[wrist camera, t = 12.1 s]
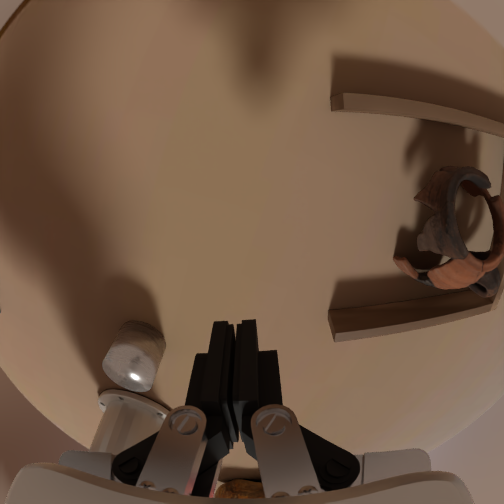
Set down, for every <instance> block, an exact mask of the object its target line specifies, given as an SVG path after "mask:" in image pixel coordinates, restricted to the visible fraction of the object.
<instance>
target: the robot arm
mask: <svg viewBox="0 0 504 504" xmlns="http://www.w3.org/2000/svg"><path fill="white" fill-rule="evenodd" d="M98 404H99V407H100V408H101V410H102V411H103V413H104V414H103V416H102V419H101V421H100V424H99V426H98V429H97V431H96V434H95V437H94V439H93V442H92V444H91V447H90V450H89V452H87V451H75V450H71V451H66V452H64V453H63V454H62V455H61V457H60V460H59V464H53V463H33V464H29V465H26V466H25V467H23V468H22V469H21V470H20V471H19V473H18V474H17V476H16V477H15V479H14V481H13V483H12V485H11V488H10V490H9V492H8V495H7V498H6V500H5V503H4V504H474V501H473V499H472V497H471V494H470V492H469V490H468V488H467V487H466V485H465V484H464V482H463V481H462V480H461V479H460V478H459V477H458V476H457V475H455V474H453V473H450V472H442V471H431V462H430V458H429V455H428V454H427V453H426V452H425V451H424V450H421V449H414V448H413V449H406V450H397V451H386V452H370V453H364V455H353V454H351V453H350V452H348V451H346V450H344V449H342V448H340V447H338V446H336V445H334V444H333V443H331V442H329V441H327V440H325V439H323V438H322V437H320V436H318V435H316V434H314V433H313V432H311V431H309V430H308V429H306V428H304V427H302V426H301V425H299V423H298V421H297V418H296V416H295V414H294V412H293V411H292V410H291V409H289V408H288V407H285V406H283V403H282V393H281V383H280V374H279V364H278V355H277V350H270V351H259V348H258V337H257V327H256V319H254V320H242V324H237V331H236V339H235V332H234V326H233V324H228V321H216V322H214V323H213V328H212V334H211V339H210V345H209V350H208V353H197V354H196V356H195V360H194V365H193V369H192V374H191V378H190V383H189V388H188V392H187V397H186V402H185V406H179V407H177V408H175V409H172V410H171V411H168V410H167V409H166V408H164V407H163V406H161V405H160V404H158V403H156V402H154V401H152V400H150V399H148V398H145V397H143V396H140V395H138V394H135V393H131V392H128V391H123V390H115V389H112V390H106V391H103V392H102V393H101V394H100V396H99V398H98ZM239 431H240V435H241V439H242V442H244V444H245V448H246V452H247V453H248V454H249V455H250V456H252V457H253V458H254V459H256V460H257V462H258V466H259V471H260V476H261V480H262V485H263V490H264V494H265V498H257V499H230V498H213V496H214V492H215V488H216V484H217V481H218V477H219V473H220V469H221V465H222V459H223V457H224V456H226V455H227V454H228V453H229V449H233V442H238V440H239Z"/></svg>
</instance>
